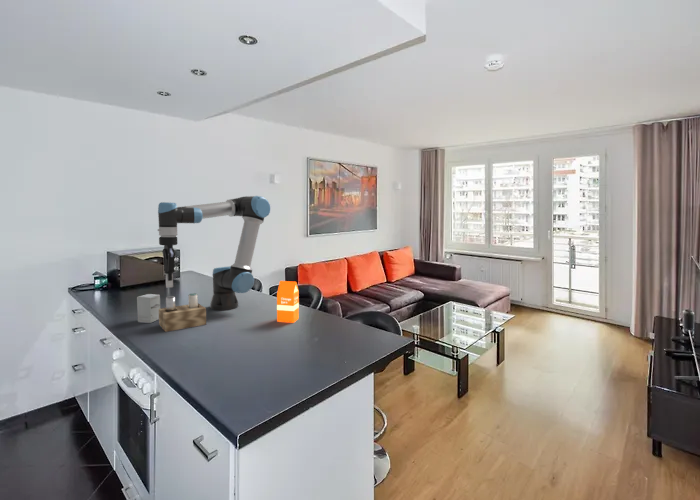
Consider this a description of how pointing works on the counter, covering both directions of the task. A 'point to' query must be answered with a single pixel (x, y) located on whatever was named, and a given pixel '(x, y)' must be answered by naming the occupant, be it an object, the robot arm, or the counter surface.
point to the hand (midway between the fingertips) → (169, 287)
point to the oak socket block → (182, 317)
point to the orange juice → (287, 302)
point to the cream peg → (193, 300)
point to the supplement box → (148, 308)
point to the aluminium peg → (170, 304)
